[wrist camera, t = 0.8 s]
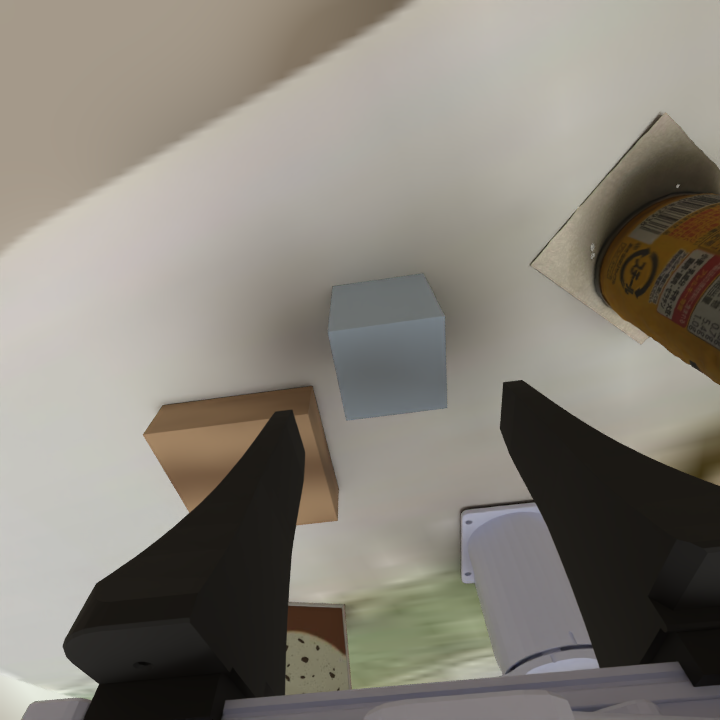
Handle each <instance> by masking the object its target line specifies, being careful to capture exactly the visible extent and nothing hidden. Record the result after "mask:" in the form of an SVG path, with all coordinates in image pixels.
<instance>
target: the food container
mask: <svg viewBox="0 0 720 720" xmlns="http://www.w3.org/2000/svg"><path fill="white" fill-rule="evenodd" d="M341 690H352V687H351V675H350V663H349V652H348V640H347V628H346V616H345V604H323V603H299V602H288V618H287V643H286V680H285V695H294V694H306V693H317V692H329V691H341Z"/></svg>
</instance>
